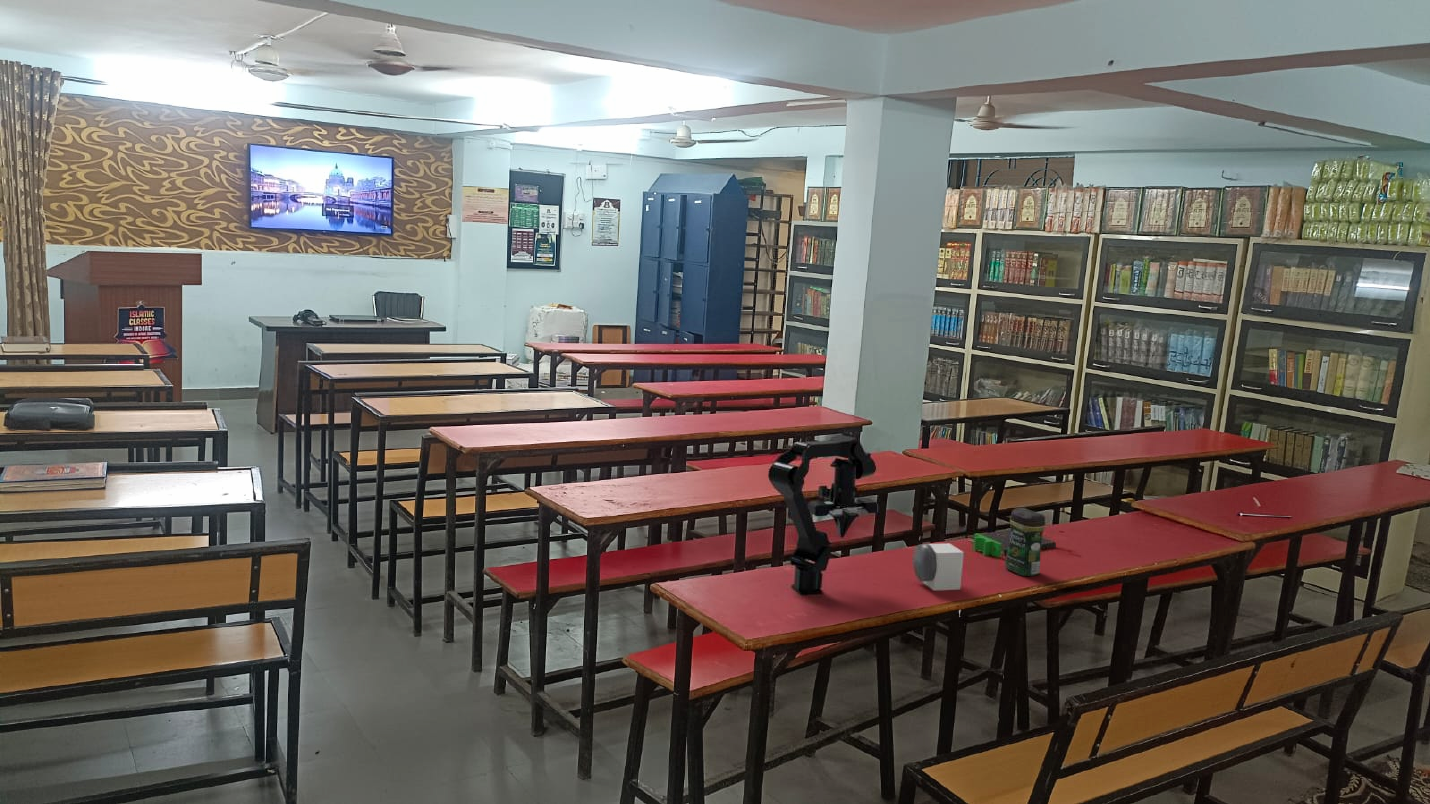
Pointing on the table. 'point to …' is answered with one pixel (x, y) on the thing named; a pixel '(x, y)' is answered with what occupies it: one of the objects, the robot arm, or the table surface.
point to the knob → (924, 562)
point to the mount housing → (947, 567)
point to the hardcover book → (1005, 537)
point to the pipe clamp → (987, 545)
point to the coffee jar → (1025, 542)
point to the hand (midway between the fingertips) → (841, 537)
